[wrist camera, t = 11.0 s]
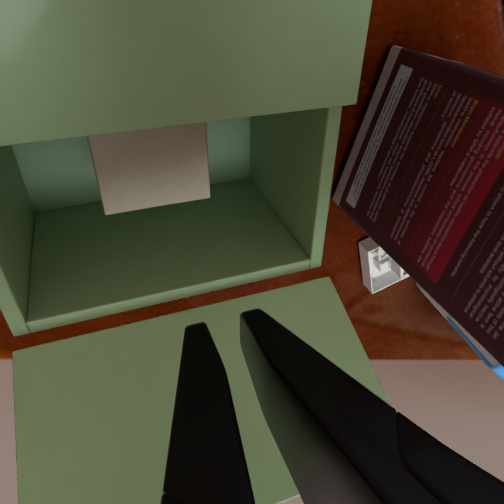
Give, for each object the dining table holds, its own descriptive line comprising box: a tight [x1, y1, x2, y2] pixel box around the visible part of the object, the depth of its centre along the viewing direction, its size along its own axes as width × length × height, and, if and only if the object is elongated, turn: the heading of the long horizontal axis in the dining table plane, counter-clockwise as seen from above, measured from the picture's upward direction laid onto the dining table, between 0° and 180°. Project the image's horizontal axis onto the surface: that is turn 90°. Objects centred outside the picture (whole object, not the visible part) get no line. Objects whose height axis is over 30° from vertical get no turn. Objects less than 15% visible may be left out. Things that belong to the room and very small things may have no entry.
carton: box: [0, 0, 372, 336], centre depth 14 cm, size 13×11×8 cm
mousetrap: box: [358, 237, 409, 294], centre depth 29 cm, size 16×4×2 cm, turn 105°
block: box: [87, 122, 210, 215], centre depth 17 cm, size 4×4×4 cm
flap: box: [12, 277, 391, 504], centre depth 13 cm, size 6×11×1 cm
